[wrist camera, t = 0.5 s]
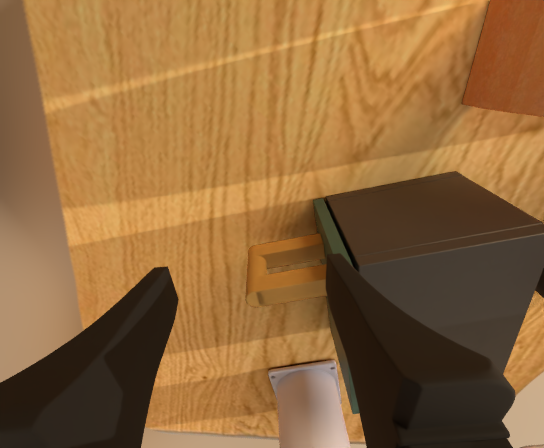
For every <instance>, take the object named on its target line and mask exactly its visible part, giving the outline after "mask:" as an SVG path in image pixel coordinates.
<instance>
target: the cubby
mask: <svg viewBox="0 0 544 448" xmlns="http://www.w3.org/2000/svg"><path fill="white" fill-rule="evenodd" d="M326 203H327V209H328V211H329V213H330V215H331V218H332V220H333V222H334V224H335V227H336V229H337V231H338V233H339V236H340V238H341V240H342V242H343V245H344V247H345V249H346V251H347V254H348V256H349V258H350V260H351V263H352V265H353V267H354V268H355V269H356V270H357V271H358V272H359V273H360V274H361V275H362V276H363V277H364V278H365V279H366V280H367V281H368V282H369V283H370V284H371V285H372V286H373V287H374V288H375V289H376V290H377V291H379V292H380V293H381V294H382V295H383V296H384V297H386V298H387V299H388V300H389V301H390V302H392V303H393V304H394V305H396V306H397V307H398V308H400V309H401V310H403V311H404V312H405V313H407V314H408V315H410V316H411V317H413V318H414V319H416V320H417V321H419V322H421V323H422V324H424V325H425V326H427V327H429V328H430V329H432V330H434V331H436V332H437V333H439V334H441V335H443V336H445V337H447V338H448V339H450V340H452V341H454V342H456V343H458V344H460V345H462V346H464V347H466V348H468V349H471V350H473V351H475V352H477V353H479V354H481V355H483V356H486V357H488V358H490V360H491V361H492V362H493V363H494V364H495V365H496V366H497V368H498V369H499V370H500V371H501V373H502V374H503V373H504V370H505V367H506V365H507V362H508V360H509V357H510V354H511V352H512V349H513V346H514V344H515V341H516V339H517V336H518V333H519V331H520V328H521V325H522V323H523V320H524V318H525V315H526V312H527V310H528V307H529V304H530V302H531V299H532V297H533V294H534V291H535V289H536V286H537V283H538V281H539V278H540V276H541V273H542V270H543V268H544V224H543V223H542V222H540V221H539V220H537V219H535V218H534V217H532V216H530V215H529V214H527V213H525V212H524V211H522V210H520V209H518V208H517V207H515V206H513V205H512V204H510V203H508V202H507V201H505V200H503V199H502V198H500V197H498V196H496V195H495V194H493V193H491V192H490V191H488V190H486V189H485V188H483V187H481V186H480V185H478V184H476V183H475V182H473V181H471V180H469V179H468V178H466V177H464V176H462V174H460V173H458V172H456V171H455V172H450V173H445V174H439V175H434V176H429V177H424V178H419V179H414V180H409V181H403V182H398V183H393V184H388V185H383V186H378V187H373V188H367V189H362V190H357V191H352V192H347V193H342V194H337V195H331V196H326Z"/></svg>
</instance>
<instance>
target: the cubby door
mask: <svg viewBox="0 0 544 448" xmlns="http://www.w3.org/2000/svg"><path fill="white" fill-rule="evenodd" d="M313 205H314V212H315V219H316V226H317V234H313V235H308V236H303V237H297V238H292V239H287V240H281V241H276V242H270V243H265V244H260V245H255V246H252V247H251V248H250V249H249V251H248V264H247V282H246V302H247V304H248V305H250V306H252V307H263V306H269V305H275V304H280V303H286V302H292V301H298V300H304V299H310V298H316V297H321V296H326V299H327V306H328V313H329V321H330V328H331V333H332V336H333V340H334V344H335V348H336V352H337V356H338V360H339V363H340V367H341V371H342V375H343V379H344V383H345V386H346V390H347V394H348V398H349V402H350V406H351V409H352V413H353V414H358V413H360V412H359V408H358V403H357V399H356V395H355V390H354V386H353V382H352V377H351V373H350V369H349V365H348V361H347V358H346V355H345V351H344V349H343V346H342V343H341V340H340V337H339V334H338V331H337V328H336V325H335V322H334V319H333V316H332V314H331V311H330V307H329V303H328V298H327V293H326V262H327V254H337V253H341V254H342V255H343V256H344V257H345V259H346V260H347V261H348V262H349V263H350V264H351V265H352V263H351V260H350V258H349V256H348V254H347V251H346V249H345V247H344V245H343V242H342V240H341V238H340V236H339V233H338V231H337V229H336V227H335V224H334V222H333V220H332V218H331V215H330V213H329V211H328V209H327V206H326V204H325V202H324V200H323V198H321V199H315V200H313ZM320 259H321V263H322V265H318V266H313V267H307V268H302V269H296V270H290V271H285V272H279V273H274V274H268V275H267V269H270V268H275V267H281V266H286V265H292V264H298V263H303V262H309V261H314V260H320ZM352 266H353V265H352Z"/></svg>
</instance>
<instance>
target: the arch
mask: <svg viewBox="0 0 544 448" xmlns="http://www.w3.org/2000/svg"><path fill="white" fill-rule="evenodd" d="M462 104H465V105H469V106H474V107H478V108H484V109H491V110H497V111H503V112H510V113H518V114H526V115H534V116H543V117H544V0H490V4H489V7H488V11H487V15H486V18H485V22H484V26H483V29H482V33H481V36H480V40H479V44H478V47H477V51H476V54H475V58H474V62H473V65H472V69H471V73H470V76H469V80H468V83H467V87H466V91H465V94H464V98H463V102H462Z"/></svg>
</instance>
